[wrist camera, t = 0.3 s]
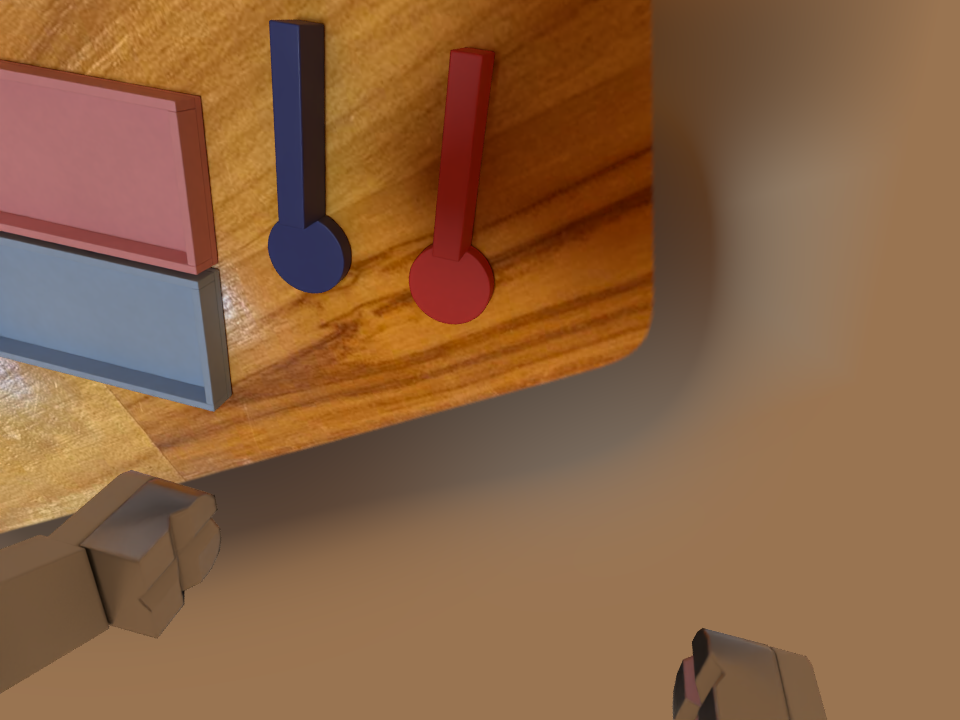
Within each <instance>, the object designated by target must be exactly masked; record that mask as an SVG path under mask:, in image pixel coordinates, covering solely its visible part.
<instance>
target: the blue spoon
mask: <svg viewBox="0 0 960 720" xmlns="http://www.w3.org/2000/svg"><path fill="white" fill-rule="evenodd" d="M269 28H270V48H271V69H272V90H273V111H274V131H275V152H276V173H277V194H278V215H279V221H278V222H277V223H276V224H275V225H274V227H273V228H272V230H271V232H270V235H269V239H268V251H269V256H270V259H271V262H272V264H273V266H274V268H275V269H276V271H277V272H278V274H279V275H280V276H281V277H282V278H283V279H284V280H285V281H286V282H287V283H288V284H290V285H291V286H293V287H294V288H296V289H298V290H301V291H304V292H308V293H322V292H326V291H328V290H330V289H332V288H333V287H334V286H335V285H337V284H338V283H339V282H340V281H341V280H342V279H343V278H344V277H345V276H346V274H347V272H348V270H349V268H350V264H351V250H350V246H349V242H348V240H347V238H346V236H345V234H344V232H343V231H342V230H341V228H340V227H339V226H338V225H337V224H336V223H335V222H334V221H333V220H332V219H330V218H329V217H327V216H325V140H324V25H323V24H320V23H314V22H308V21H302V20H270V21H269Z"/></svg>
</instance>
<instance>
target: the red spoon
mask: <svg viewBox="0 0 960 720" xmlns="http://www.w3.org/2000/svg"><path fill="white" fill-rule="evenodd" d="M494 57H495V53H494V52H493V51H487V50H481V49H475V48H468V47H464V48H459V49H453V50H451V52H450V62H449V73H448V84H447V95H446V106H445V117H444V128H443V139H442V150H441V161H440V172H439V183H438V194H437V205H436V216H435V227H434V238H433V244H431V245H429V246H428V247H427V248H425V249H424V250H423V251H422V252H421V254H420V255H419V256H418V257H417V258H416V259H415V261H414V262H413V264H412V267H411V269H410V274H409V286H410V291H411V294H412V297H413V299H414V300H415V302H416V304H417V305H418V307H419V308H420V309H421V310H422V311H423V312H424V313H425V314H427V315H428V316H429V317H431V318H433V319H435V320H437V321H439V322H442V323H447V324H462V323H466V322H469V321H471V320H473V319H475V318H476V317H478V316H479V315H480V314H481V313H482V312H483V311H484V309H485V308H486V306H487V304H488V302H489V300H490V299H491V296H492V294H493V289H494V277H493V272H492V269H491V267H490V265H489V263H488V261H487V260H486V258H485V257H484V256H483V255H482V254H481V253H480V252H479V251H478V250H477V249H476V248H474V247H473V246H471V240H472V232H473V224H474V216H475V208H476V200H477V192H478V184H479V176H480V168H481V160H482V152H483V144H484V136H485V128H486V120H487V113H488V105H489V97H490V89H491V81H492V73H493V65H494Z"/></svg>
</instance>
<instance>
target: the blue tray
mask: <svg viewBox="0 0 960 720" xmlns="http://www.w3.org/2000/svg"><path fill="white" fill-rule="evenodd" d="M0 357H4V358H8V359H12V360H15V361H19V362H23V363H27V364H31V365H35V366H39V367H43V368H47V369H50V370H54V371H58V372H62V373H66V374H70V375H74V376H78V377H82V378H85V379H89V380H93V381H97V382H101V383H105V384H109V385H113V386H117V387H120V388H124V389H128V390H132V391H136V392H140V393H144V394H148V395H152V396H155V397H159V398H163V399H167V400H171V401H175V402H179V403H183V404H187V405H190V406H194V407H198V408H202V409H206V410H210V411H215V410H216V409H217V408H218V407H220V406H221V405H222V404H223V403H224V402H225V401H226V400H227V399H228V398H229V397H230V396H231V395H232V392H231V382H230V373H229V364H228V354H227V345H226V335H225V326H224V317H223V307H222V298H221V288H220V279H219V270H218V269H214V268H208V269H206V270H204V271H203V272H201V273H199V274H198V275H195V274H190V273H186V272H181V271H177V270H172V269H168V268H164V267H159V266H155V265H150V264H146V263H141V262H137V261H133V260H128V259H124V258H119V257H115V256H110V255H106V254H102V253H97V252H93V251H88V250H84V249H79V248H75V247H71V246H66V245H62V244H57V243H53V242H48V241H44V240H40V239H35V238H31V237H26V236H22V235H17V234H13V233H9V232H4V231H0Z"/></svg>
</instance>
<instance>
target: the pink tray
mask: <svg viewBox="0 0 960 720" xmlns="http://www.w3.org/2000/svg"><path fill="white" fill-rule="evenodd" d="M0 231H4V232H9V233H13V234H17V235H22V236H26V237H31V238H35V239H40V240H44V241H48V242H53V243H57V244H62V245H66V246H71V247H75V248H79V249H84V250H88V251H93V252H97V253H102V254H106V255H110V256H115V257H119V258H124V259H128V260H133V261H137V262H141V263H146V264H150V265H155V266H159V267H164V268H168V269H172V270H177V271H181V272H186V273H190V274H195V275H198V274H199V273H201V272H203V271H204V270H206V269H208V268H210V267H211V266H212V265H215V264H216V263H218V259H217V250H216V241H215V231H214V222H213V212H212V203H211V194H210V184H209V175H208V165H207V156H206V147H205V137H204V128H203V118H202V109H201V100H200V97H199V96H194V95H189V94H183V93H178V92H172V91H167V90H161V89H156V88H151V87H145V86H140V85H134V84H129V83H123V82H118V81H112V80H107V79H102V78H96V77H91V76H85V75H80V74H74V73H69V72H63V71H58V70H53V69H47V68H42V67H36V66H31V65H25V64H20V63H14V62H9V61H4V60H0Z"/></svg>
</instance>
